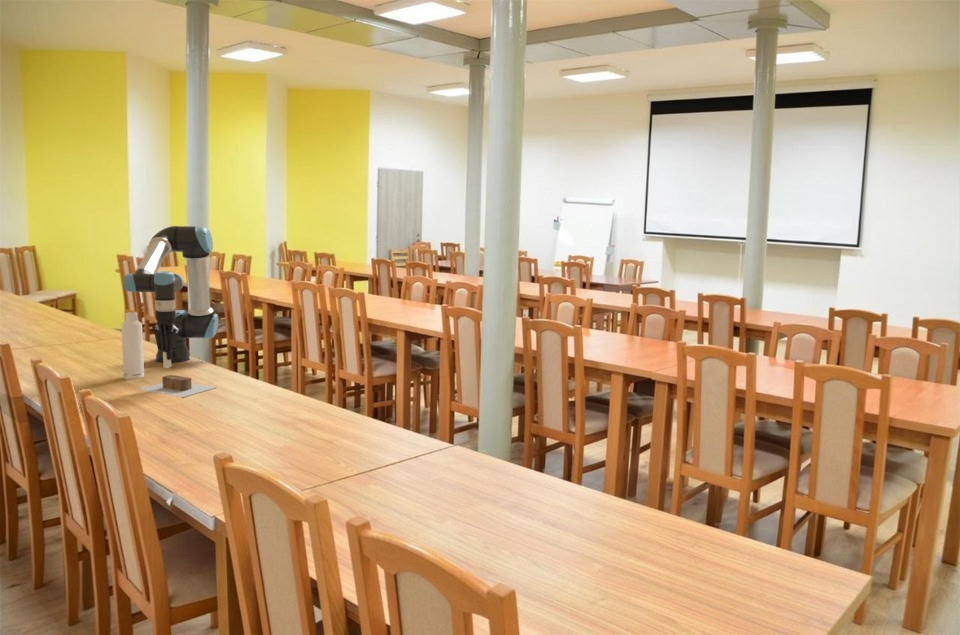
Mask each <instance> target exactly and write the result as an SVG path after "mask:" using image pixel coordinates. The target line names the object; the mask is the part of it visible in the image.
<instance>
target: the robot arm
mask: <svg viewBox="0 0 960 635" xmlns="http://www.w3.org/2000/svg"><path fill="white" fill-rule="evenodd" d="M213 245H214V242H213V237H212V233H211V231H210V229H208V228H207V227H206V226H198V225H197V226H196V225H194V226H193V225H192V226H187V225H184V226H183V225H182V226H181V225H180V226H179V225H171V226H168V227H166V228H165V227H164V228H163V229H161V230H160V231H158V232H157V233H156V234H154V235H153V236H152V238H151V239H150V241H149V242H148V249H147V251H146V252H145V255H143V258H142V260H140V262H139V265H138V266H137V268H136V269H135V272H134V273H132V272H131V273H126V274H125V275H124V278H123V287H124V290H125V291H127V292H128V293H129V292H131V293H154V303H155V304H154V305H155V306H154V308H155V320H156V321H157V322H156V325H152V330H153V332H154V337H155V341H156V342H155V343H156V347H157V352H156V355H155V360H156V362H160V363H162V364H163V365H162V366H163V367H162V368H163V369H168V368H172V363H180V362H185V361H189V360H190V359H191V354H190V352H189V349H188V345H187V342H186V339H203V340H204V339H212V338H214V337H215V336H216V334H217V331H218V326H219V314H217V313H215V310H214V308H213V307H211V304H210V303H211V302H210V292H209V290H210V289H209V277H208V276H209V275H208V267H207V266H208V265H207V264H208V263H207V259H208V257H210V253H212V252H213V247H214V246H213ZM173 252H178V253H182V257H183V258H184V259H185V260H186V267H187V268H186V269H187V270H186V271H187V280H188V290H189V301H190V308H189V309H188V310H187V313H186V311H185V310H183V309H177V310H176V293H178V292H179V291H180V290H181V289H183V287H184V283H185V282H184V278H183V277H182V276H181V275H180V274H179V273H175V272H173V271H165V270H164V271H159V269H160V267H161V266H162V263H163V261H164V260H165V258H166V256H168V255H170V253H173ZM189 357H190V358H189Z"/></svg>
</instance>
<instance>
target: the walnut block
mask: <svg viewBox="0 0 960 635" xmlns="http://www.w3.org/2000/svg"><path fill="white" fill-rule="evenodd" d="M162 383H163V388H168V389H174V390H179V391H185V390H189V389H192V386H191V383H192V377H188V376H181V375H176V374H169V375H165V376H162Z"/></svg>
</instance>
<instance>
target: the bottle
mask: <svg viewBox="0 0 960 635" xmlns="http://www.w3.org/2000/svg"><path fill="white" fill-rule="evenodd" d="M124 316H125V321H123V322H122V323H121V339H122V340H121V342H122V343H121V346H122V368H123V379H125V380H132V379H134V380H135V379H140V378H143V377H145V365H144V364H145V363H144V340H143V339H144V337H143V324H142V322H141V321H139V319H138V312H137V311H128V312H125V314H124Z"/></svg>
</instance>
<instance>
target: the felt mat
mask: <svg viewBox="0 0 960 635" xmlns="http://www.w3.org/2000/svg"><path fill="white" fill-rule="evenodd" d="M191 386H192V389H189V390H185V391H179V390H174V389H168V388H163V382H160V383H157V384H152V385H149V386H145V387H142V388H138V390H140V391H145V392H150V393H156V394H161V395H168V396H174V397H179V398H181V399H185V398H188V397H191V396H195V395H198V393H199V394H201V393H205V392H208V391H211V390H215V389H217V386H212V385H211V386H210V385H205V384H198V383H193V382H191Z"/></svg>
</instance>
